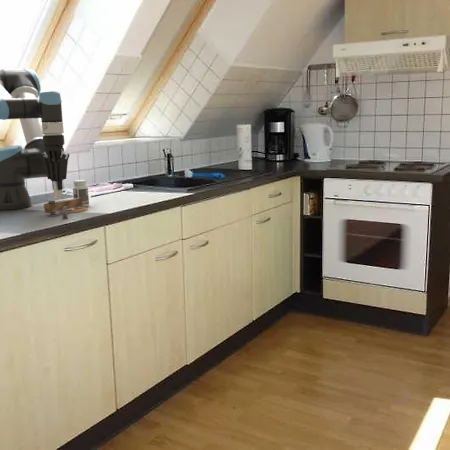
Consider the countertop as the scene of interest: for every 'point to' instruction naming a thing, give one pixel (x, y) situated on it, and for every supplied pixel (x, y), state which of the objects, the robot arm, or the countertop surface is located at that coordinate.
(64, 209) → the stop peg
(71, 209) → the coaster
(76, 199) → the leg bar
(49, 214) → the pivot pin
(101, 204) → the countertop surface
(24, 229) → the countertop surface
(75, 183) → the pill bottle
